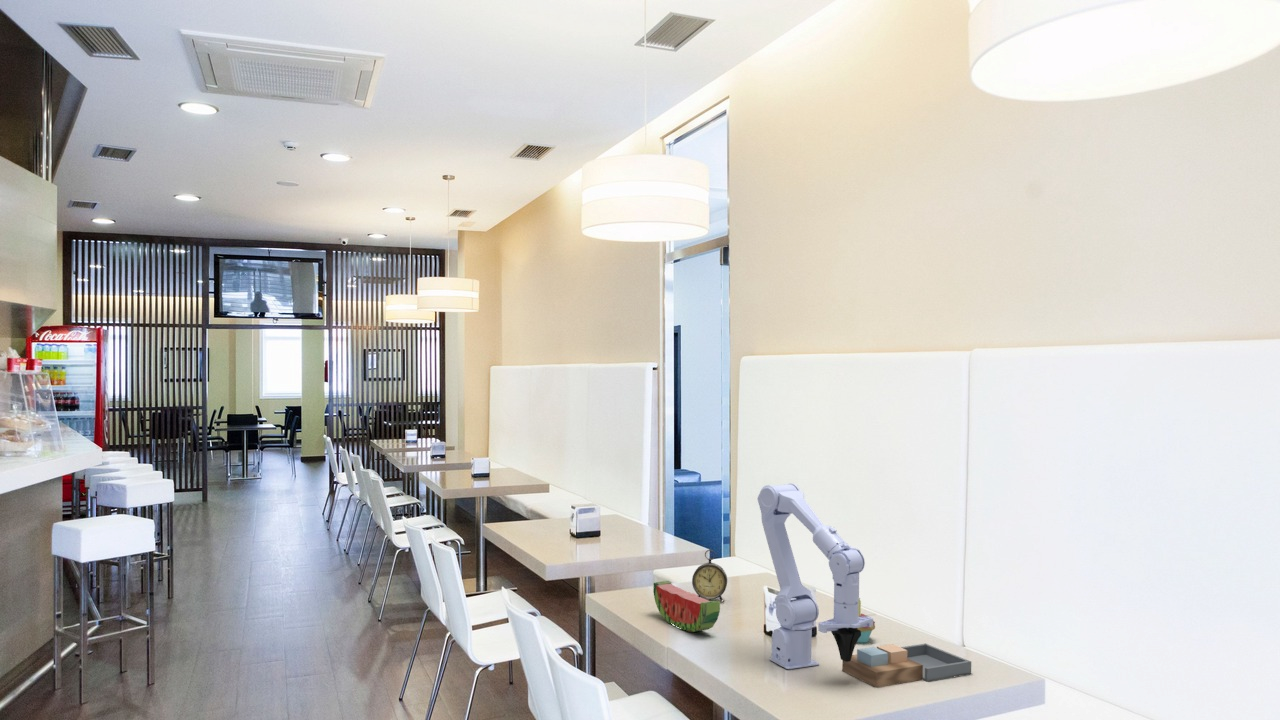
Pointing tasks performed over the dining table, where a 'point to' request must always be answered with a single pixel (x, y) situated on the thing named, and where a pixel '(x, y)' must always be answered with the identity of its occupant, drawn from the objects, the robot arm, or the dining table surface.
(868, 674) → the bench board
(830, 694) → the dining table surface
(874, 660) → the pale blue block
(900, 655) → the tile sand
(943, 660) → the tray
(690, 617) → the fruit slice
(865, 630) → the cupcake
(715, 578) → the alarm clock
